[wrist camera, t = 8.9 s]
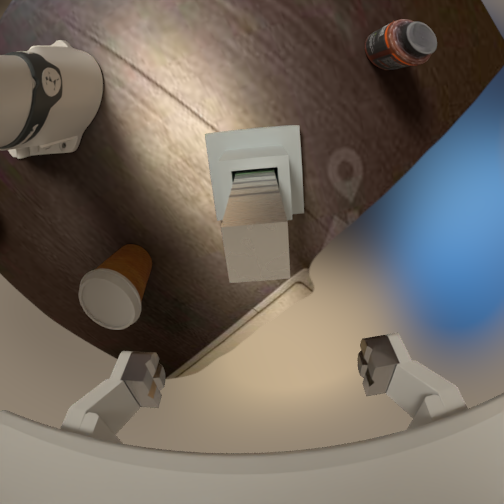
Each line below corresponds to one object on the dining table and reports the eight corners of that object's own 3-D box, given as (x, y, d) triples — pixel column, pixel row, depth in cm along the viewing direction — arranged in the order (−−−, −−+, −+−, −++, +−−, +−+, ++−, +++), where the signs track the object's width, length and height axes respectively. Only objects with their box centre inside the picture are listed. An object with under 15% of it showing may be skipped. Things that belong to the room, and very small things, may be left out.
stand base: (218, 216, 43) (208, 248, 34) (206, 133, 37) (191, 142, 28) (302, 209, 42) (314, 239, 33) (297, 125, 37) (311, 131, 28)
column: (240, 204, 34) (229, 283, 20) (236, 170, 32) (220, 227, 18) (275, 201, 34) (290, 278, 20) (273, 167, 32) (287, 221, 18)
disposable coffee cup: (161, 289, 49) (140, 338, 38) (111, 279, 48) (81, 323, 38) (162, 239, 45) (136, 282, 34) (107, 230, 44) (70, 268, 33)
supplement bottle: (404, 71, 32) (448, 66, 22) (367, 70, 32) (404, 62, 22) (397, 33, 29) (438, 17, 19) (359, 31, 30) (393, 10, 20)
